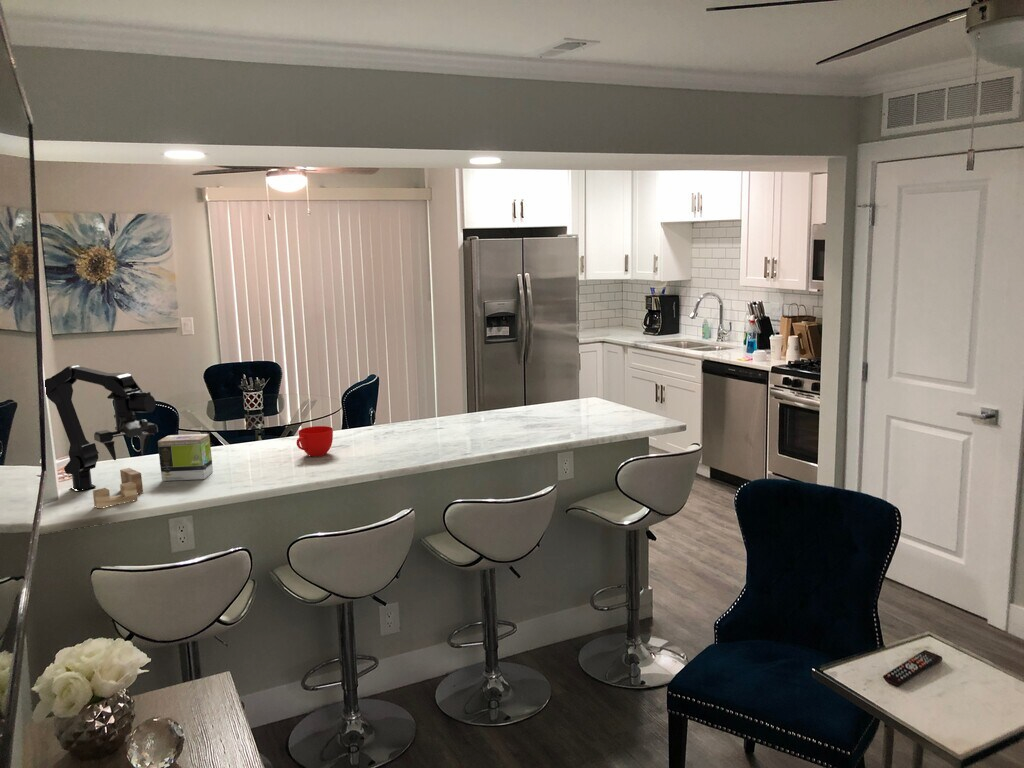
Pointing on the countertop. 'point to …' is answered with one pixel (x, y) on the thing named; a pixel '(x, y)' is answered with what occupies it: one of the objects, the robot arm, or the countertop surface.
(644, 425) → the countertop surface
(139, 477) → the tan wooden beam
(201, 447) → the tea box
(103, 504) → the u-shaped oak block
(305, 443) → the ceramic cup
